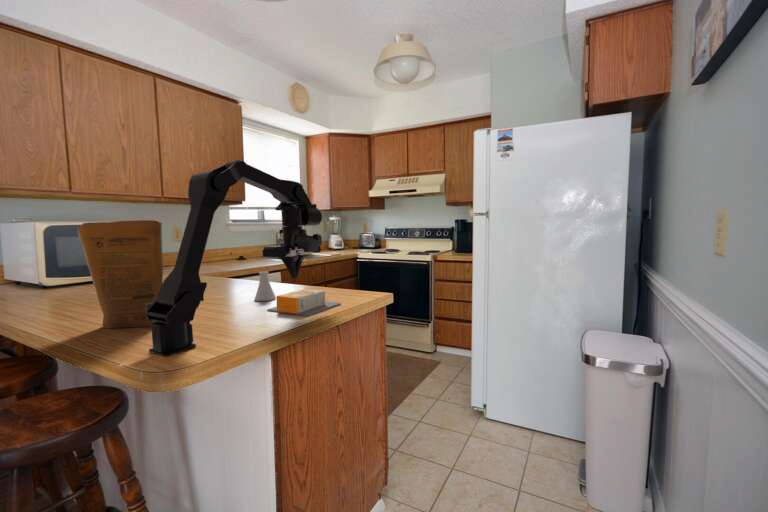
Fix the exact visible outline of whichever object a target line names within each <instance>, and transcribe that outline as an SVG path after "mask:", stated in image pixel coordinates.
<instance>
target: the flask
mask: <svg viewBox="0 0 768 512" xmlns="http://www.w3.org/2000/svg"><path fill="white" fill-rule="evenodd" d="M258 274H259V283H258V287H257V291H256V293H255V296H254V301H255V302H269V301H273V300H276V296H277V295H275V292H274V290H273V288H272V286H271V283H270V280H269V271H259V272H258Z"/></svg>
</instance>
